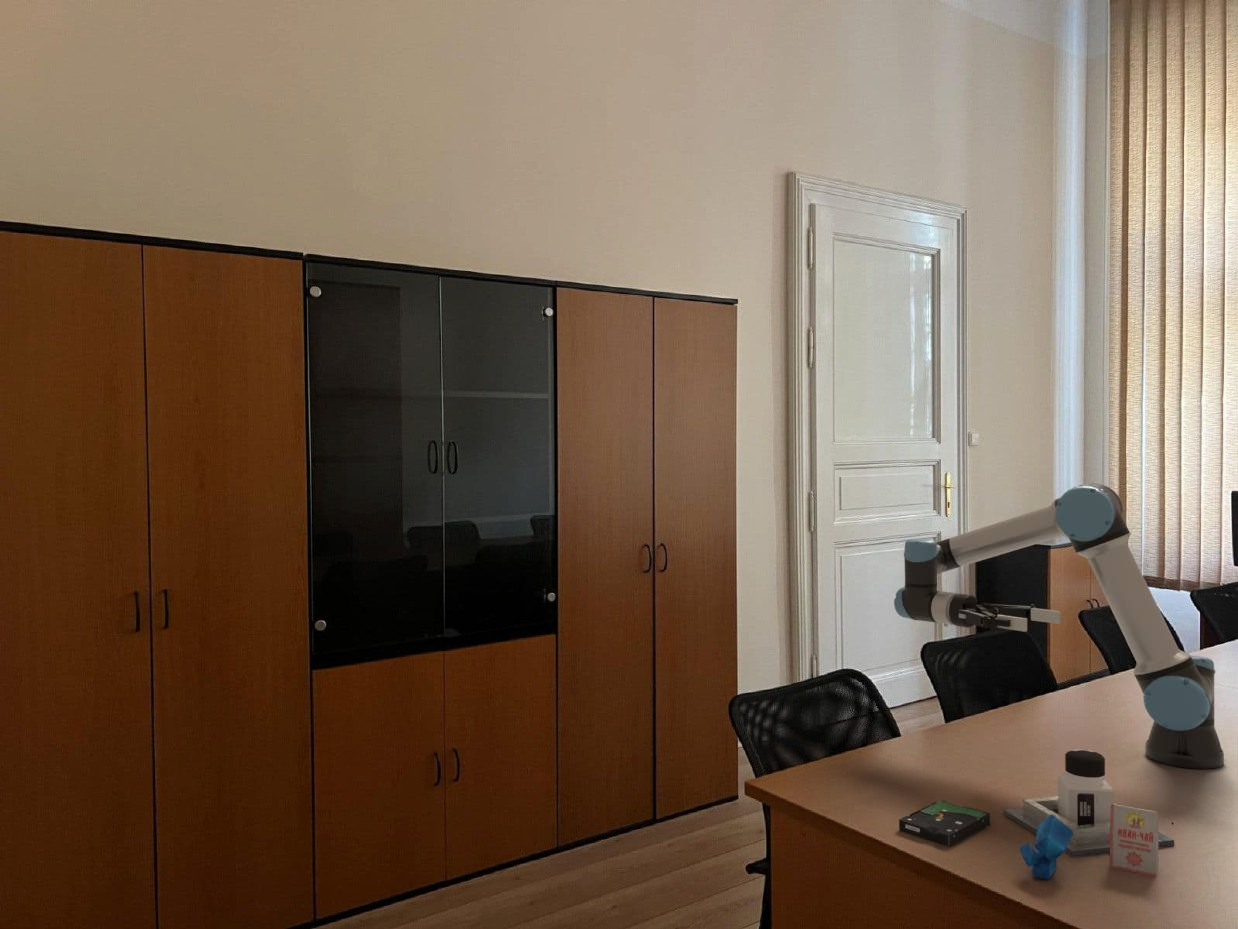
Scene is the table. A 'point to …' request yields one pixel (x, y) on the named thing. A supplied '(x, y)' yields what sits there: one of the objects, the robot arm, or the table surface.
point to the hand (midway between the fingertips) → (1043, 621)
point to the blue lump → (1047, 847)
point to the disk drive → (944, 822)
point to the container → (1084, 789)
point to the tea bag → (1134, 840)
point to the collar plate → (1084, 836)
